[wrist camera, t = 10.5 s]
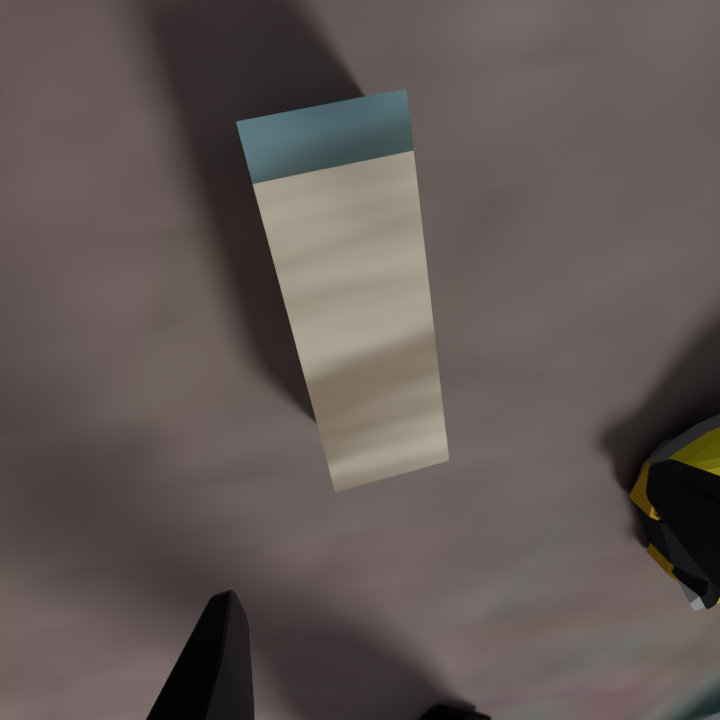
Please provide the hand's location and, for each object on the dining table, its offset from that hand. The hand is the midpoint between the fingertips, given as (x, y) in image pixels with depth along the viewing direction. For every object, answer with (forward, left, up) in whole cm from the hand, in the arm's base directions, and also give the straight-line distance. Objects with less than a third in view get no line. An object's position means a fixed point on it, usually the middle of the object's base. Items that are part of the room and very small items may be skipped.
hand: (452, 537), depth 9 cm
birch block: (-3, -3, -9) cm, 10 cm away
